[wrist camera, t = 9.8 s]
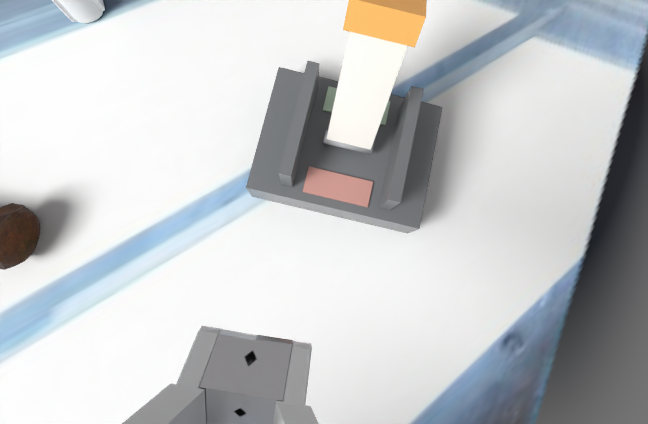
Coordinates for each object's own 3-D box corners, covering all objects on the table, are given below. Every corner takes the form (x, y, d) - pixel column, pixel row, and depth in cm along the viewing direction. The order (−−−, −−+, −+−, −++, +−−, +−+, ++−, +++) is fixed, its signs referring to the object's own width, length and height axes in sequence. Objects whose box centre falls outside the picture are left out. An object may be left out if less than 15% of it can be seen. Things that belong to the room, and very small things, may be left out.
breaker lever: (371, 162, 33) (425, 17, 23) (319, 150, 33) (349, -2, 23) (374, 144, 35) (426, -1, 24) (324, 132, 35) (354, -19, 24)
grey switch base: (407, 233, 38) (434, 223, 30) (252, 196, 37) (238, 176, 29) (428, 123, 40) (459, 86, 32) (281, 87, 39) (275, 41, 31)
